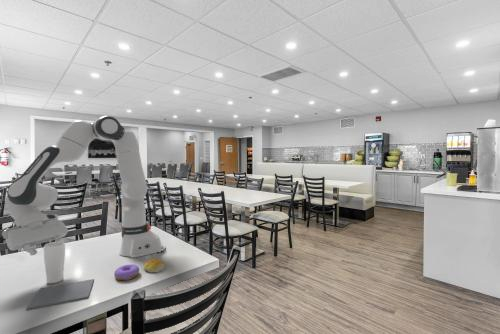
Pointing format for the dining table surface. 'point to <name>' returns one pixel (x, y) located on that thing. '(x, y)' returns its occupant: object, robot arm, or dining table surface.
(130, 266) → the donut
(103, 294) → the dining table surface
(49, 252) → the drinking glass
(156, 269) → the bread roll
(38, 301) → the rubber mat
